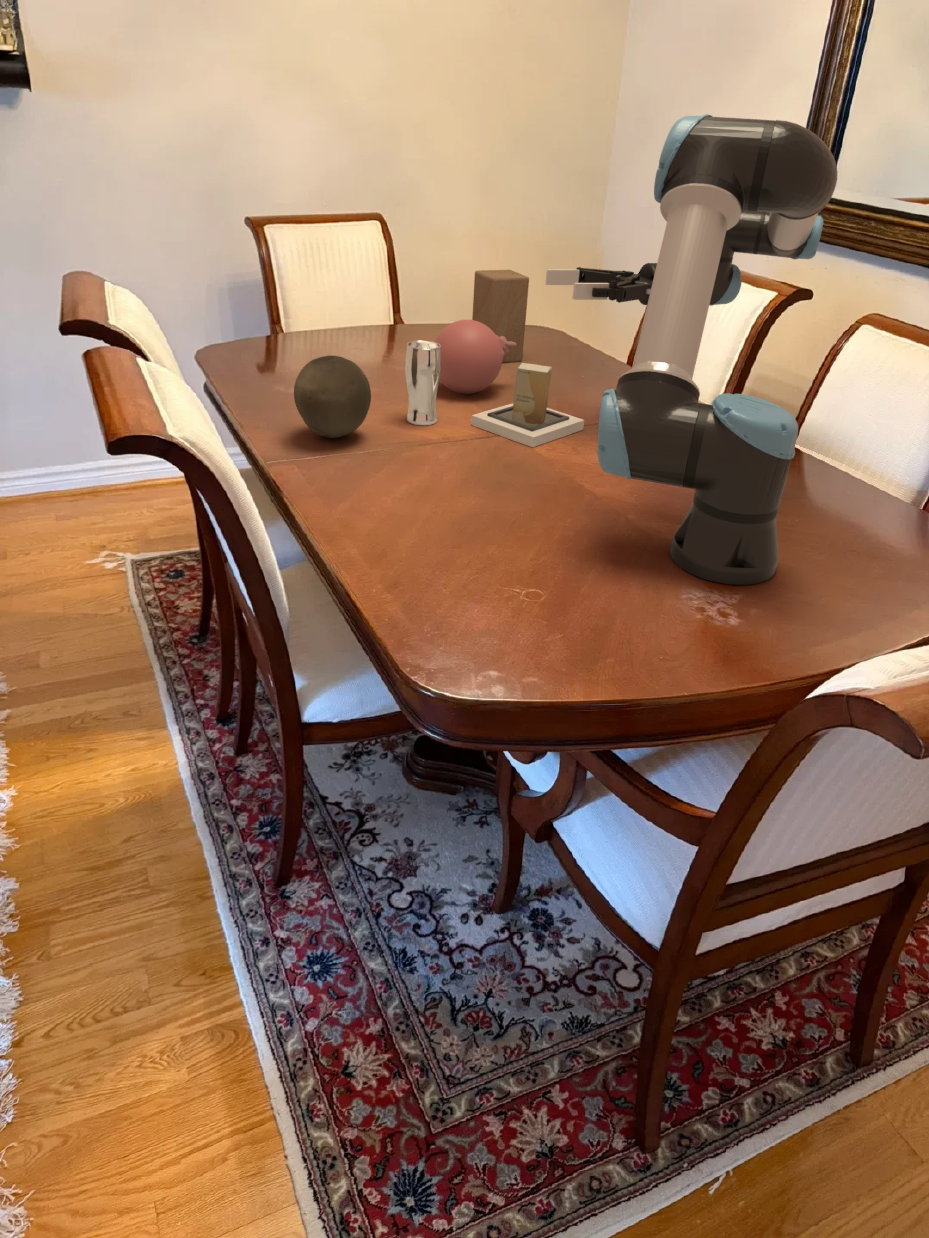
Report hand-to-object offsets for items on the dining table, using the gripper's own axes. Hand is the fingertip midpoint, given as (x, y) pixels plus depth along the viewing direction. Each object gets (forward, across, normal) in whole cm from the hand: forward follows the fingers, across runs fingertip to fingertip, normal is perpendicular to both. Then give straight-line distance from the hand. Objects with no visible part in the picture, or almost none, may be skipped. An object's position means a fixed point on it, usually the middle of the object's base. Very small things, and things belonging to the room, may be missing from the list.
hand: (559, 284), depth 158 cm
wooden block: (-6, +51, -27) cm, 58 cm away
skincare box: (+4, 0, -28) cm, 28 cm away
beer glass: (+24, +7, -28) cm, 37 cm away
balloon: (+7, +24, -27) cm, 37 cm away
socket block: (+4, 0, -27) cm, 28 cm away
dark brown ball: (+43, 0, -28) cm, 51 cm away
